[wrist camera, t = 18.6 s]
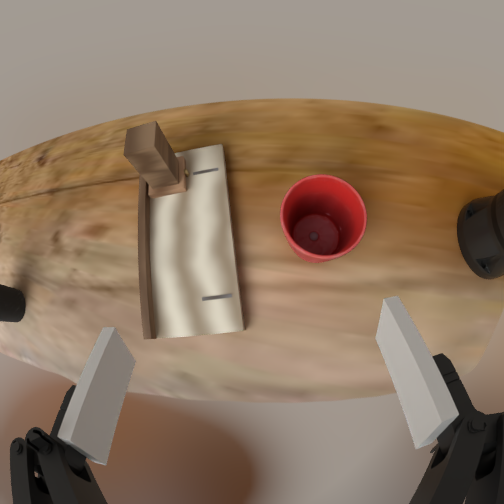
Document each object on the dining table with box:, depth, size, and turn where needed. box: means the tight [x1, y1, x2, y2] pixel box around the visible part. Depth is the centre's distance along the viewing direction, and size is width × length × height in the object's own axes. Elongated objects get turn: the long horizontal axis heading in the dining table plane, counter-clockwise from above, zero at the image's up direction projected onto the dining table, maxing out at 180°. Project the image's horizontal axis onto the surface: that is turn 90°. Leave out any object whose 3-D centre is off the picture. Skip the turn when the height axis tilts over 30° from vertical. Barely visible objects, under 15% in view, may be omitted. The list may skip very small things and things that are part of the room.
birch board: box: [138, 144, 245, 339], centre depth 41 cm, size 14×30×4 cm, turn 7°
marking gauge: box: [124, 121, 190, 199], centre depth 38 cm, size 7×6×12 cm
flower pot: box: [280, 174, 367, 263], centre depth 37 cm, size 11×11×10 cm
